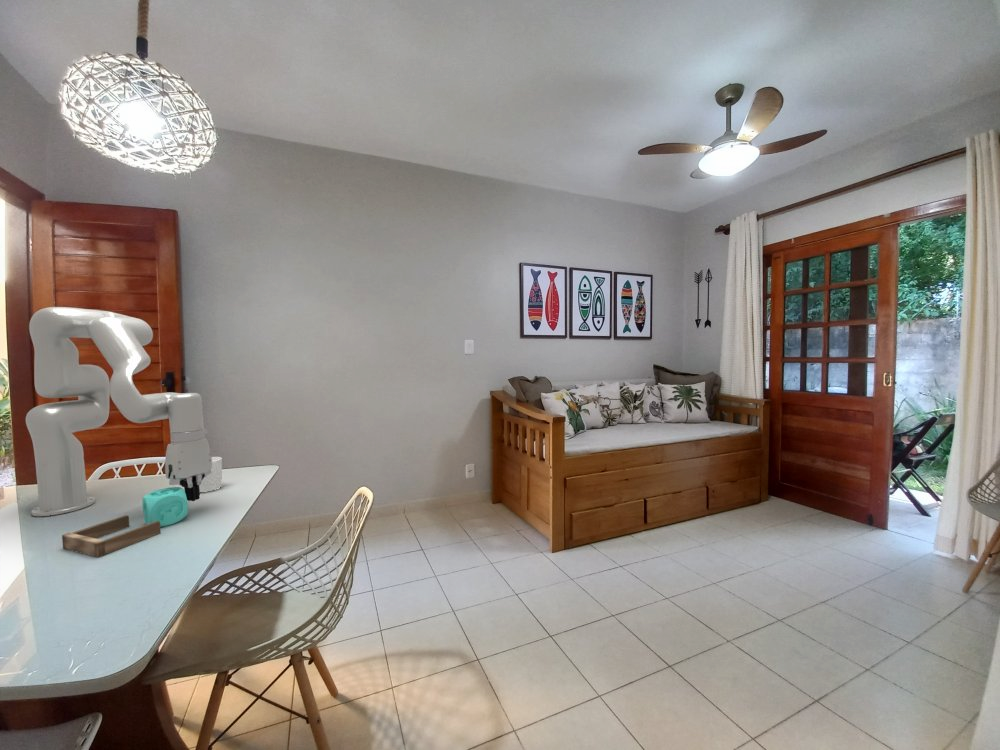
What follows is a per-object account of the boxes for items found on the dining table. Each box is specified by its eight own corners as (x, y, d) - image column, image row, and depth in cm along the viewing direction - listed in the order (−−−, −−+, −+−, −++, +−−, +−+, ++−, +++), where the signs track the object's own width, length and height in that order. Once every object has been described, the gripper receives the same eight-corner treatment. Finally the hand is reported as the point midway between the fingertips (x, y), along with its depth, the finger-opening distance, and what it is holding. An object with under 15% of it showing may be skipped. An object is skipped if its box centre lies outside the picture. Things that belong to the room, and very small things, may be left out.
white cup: (207, 494, 126) (206, 464, 125) (187, 493, 128) (185, 462, 127) (229, 486, 134) (227, 457, 133) (210, 484, 135) (208, 456, 135)
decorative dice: (143, 522, 105) (140, 493, 105) (181, 512, 112) (178, 484, 111) (150, 530, 100) (147, 500, 100) (189, 519, 107) (186, 490, 106)
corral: (63, 548, 92) (61, 534, 92) (126, 526, 103) (125, 514, 103) (98, 557, 88) (97, 542, 87) (160, 532, 99) (159, 520, 99)
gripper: (205, 430, 119) (209, 489, 121) (148, 442, 105) (154, 508, 106) (223, 431, 117) (227, 491, 118) (167, 443, 103) (173, 511, 104)
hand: (192, 499), depth 112 cm, fingers closed
